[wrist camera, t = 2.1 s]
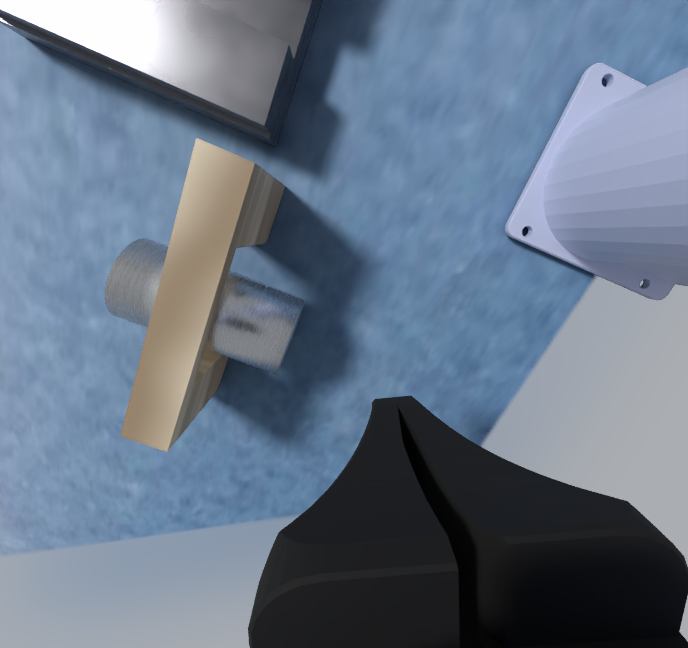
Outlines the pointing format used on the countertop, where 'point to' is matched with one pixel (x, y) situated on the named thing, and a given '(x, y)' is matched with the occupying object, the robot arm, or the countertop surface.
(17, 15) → the v block
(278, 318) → the silver metal cylinder
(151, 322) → the beam
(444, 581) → the robot arm
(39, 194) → the countertop surface
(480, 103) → the countertop surface
